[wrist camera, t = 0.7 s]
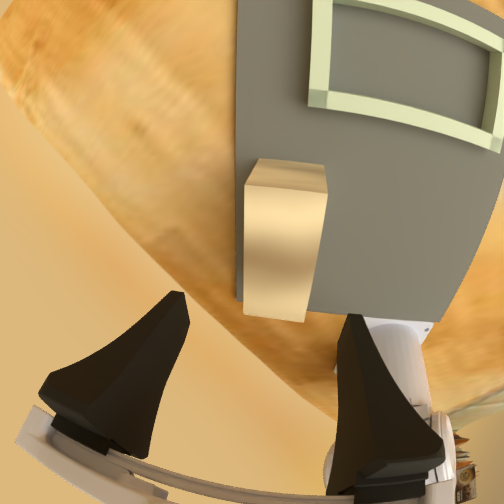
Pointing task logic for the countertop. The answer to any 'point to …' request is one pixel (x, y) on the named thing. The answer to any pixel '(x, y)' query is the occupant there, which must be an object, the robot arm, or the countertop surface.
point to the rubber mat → (373, 150)
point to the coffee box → (465, 484)
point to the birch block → (282, 236)
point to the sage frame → (489, 136)
